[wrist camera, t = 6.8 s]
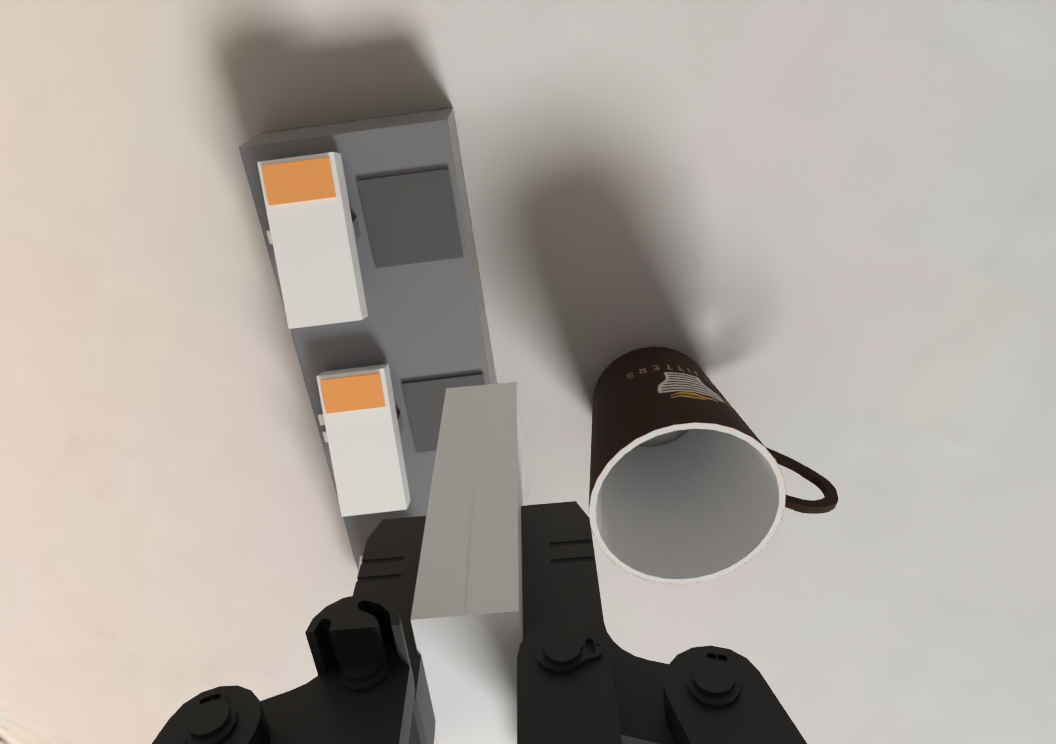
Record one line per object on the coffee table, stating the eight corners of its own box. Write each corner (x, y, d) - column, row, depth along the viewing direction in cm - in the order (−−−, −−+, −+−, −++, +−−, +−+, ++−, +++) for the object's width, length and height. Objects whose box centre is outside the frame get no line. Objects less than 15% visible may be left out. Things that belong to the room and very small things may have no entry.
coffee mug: (541, 415, 44) (549, 527, 35) (640, 297, 41) (677, 386, 32) (698, 513, 47) (742, 639, 38) (800, 410, 44) (874, 520, 35)
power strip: (262, 132, 37) (232, 151, 33) (452, 107, 36) (445, 122, 32) (408, 682, 53) (400, 739, 49) (542, 668, 52) (545, 724, 48)
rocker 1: (267, 163, 34) (256, 161, 32) (340, 153, 33) (332, 151, 32) (297, 324, 35) (287, 329, 34) (367, 316, 35) (361, 320, 34)
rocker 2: (323, 371, 38) (315, 376, 37) (388, 363, 38) (383, 368, 37) (347, 507, 39) (340, 518, 38) (410, 500, 39) (406, 510, 38)
